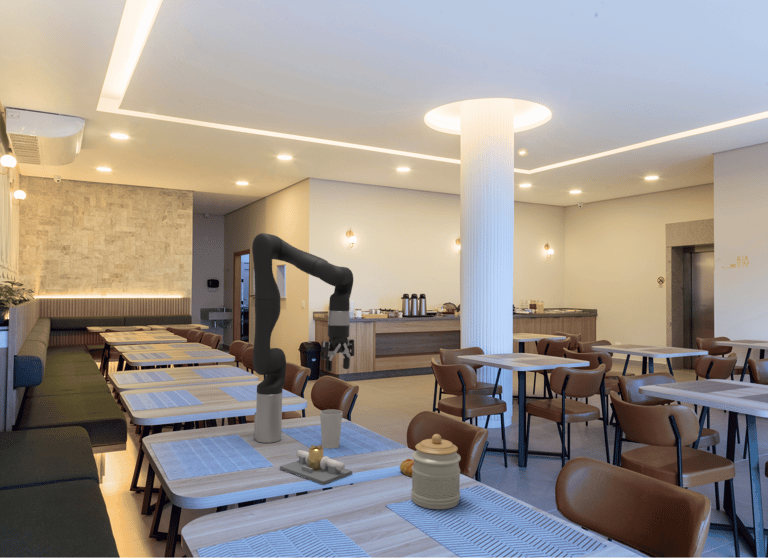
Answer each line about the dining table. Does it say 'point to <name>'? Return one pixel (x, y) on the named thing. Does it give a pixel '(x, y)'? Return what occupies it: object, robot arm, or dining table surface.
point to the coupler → (315, 457)
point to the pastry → (407, 467)
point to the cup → (331, 428)
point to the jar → (436, 474)
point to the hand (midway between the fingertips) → (337, 370)
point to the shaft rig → (328, 474)
